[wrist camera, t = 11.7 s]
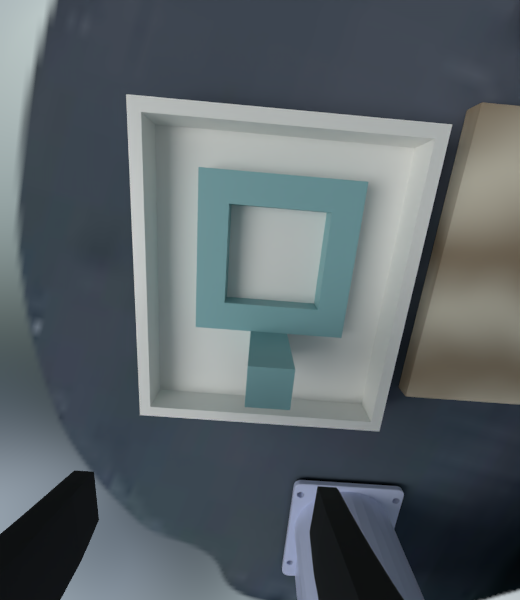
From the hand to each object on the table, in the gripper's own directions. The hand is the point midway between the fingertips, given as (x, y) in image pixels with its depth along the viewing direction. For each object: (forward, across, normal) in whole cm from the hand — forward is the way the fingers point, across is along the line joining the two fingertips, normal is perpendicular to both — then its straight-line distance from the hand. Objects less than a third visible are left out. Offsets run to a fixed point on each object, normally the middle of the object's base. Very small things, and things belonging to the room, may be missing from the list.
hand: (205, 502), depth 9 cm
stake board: (+9, -17, -7) cm, 21 cm away
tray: (+9, -2, -6) cm, 11 cm away
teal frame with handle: (+9, -2, -6) cm, 11 cm away
